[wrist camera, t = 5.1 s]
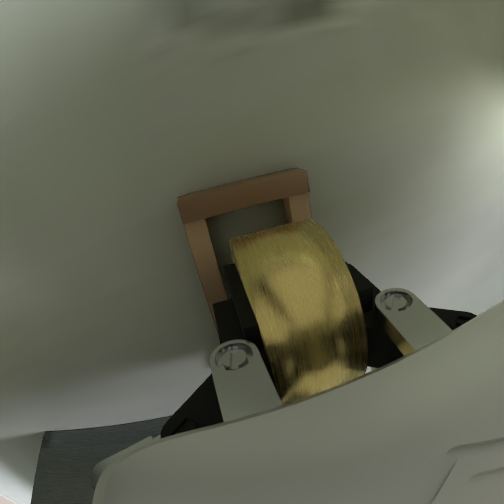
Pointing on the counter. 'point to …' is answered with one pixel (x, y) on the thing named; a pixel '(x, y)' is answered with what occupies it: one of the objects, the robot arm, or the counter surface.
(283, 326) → the coin
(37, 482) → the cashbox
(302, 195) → the cradle
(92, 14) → the counter surface
